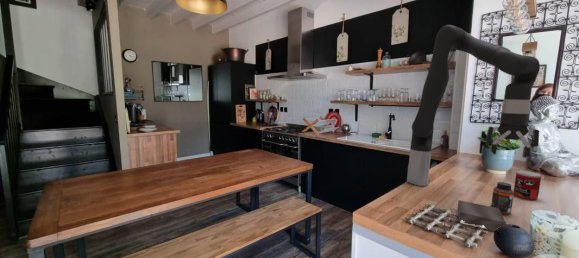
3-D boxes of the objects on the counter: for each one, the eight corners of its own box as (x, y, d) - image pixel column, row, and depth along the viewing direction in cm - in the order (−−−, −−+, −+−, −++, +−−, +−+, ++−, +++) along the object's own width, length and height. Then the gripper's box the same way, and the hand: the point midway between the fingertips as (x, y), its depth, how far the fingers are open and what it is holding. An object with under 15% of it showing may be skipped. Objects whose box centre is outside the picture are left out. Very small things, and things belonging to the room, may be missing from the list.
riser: (458, 223, 85) (460, 212, 84) (457, 210, 95) (458, 200, 94) (504, 234, 78) (505, 222, 78) (497, 218, 88) (499, 208, 88)
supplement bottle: (514, 216, 91) (519, 187, 89) (496, 214, 92) (500, 185, 90) (504, 209, 96) (508, 181, 95) (487, 207, 98) (490, 180, 96)
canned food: (508, 193, 112) (511, 170, 111) (524, 193, 113) (527, 170, 111) (525, 201, 105) (529, 176, 103) (542, 200, 105) (546, 176, 104)
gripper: (538, 112, 88) (531, 156, 91) (488, 110, 96) (483, 151, 98) (545, 113, 82) (538, 160, 84) (491, 111, 90) (486, 154, 92)
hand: (508, 155), depth 91 cm, fingers open, 8 cm apart
